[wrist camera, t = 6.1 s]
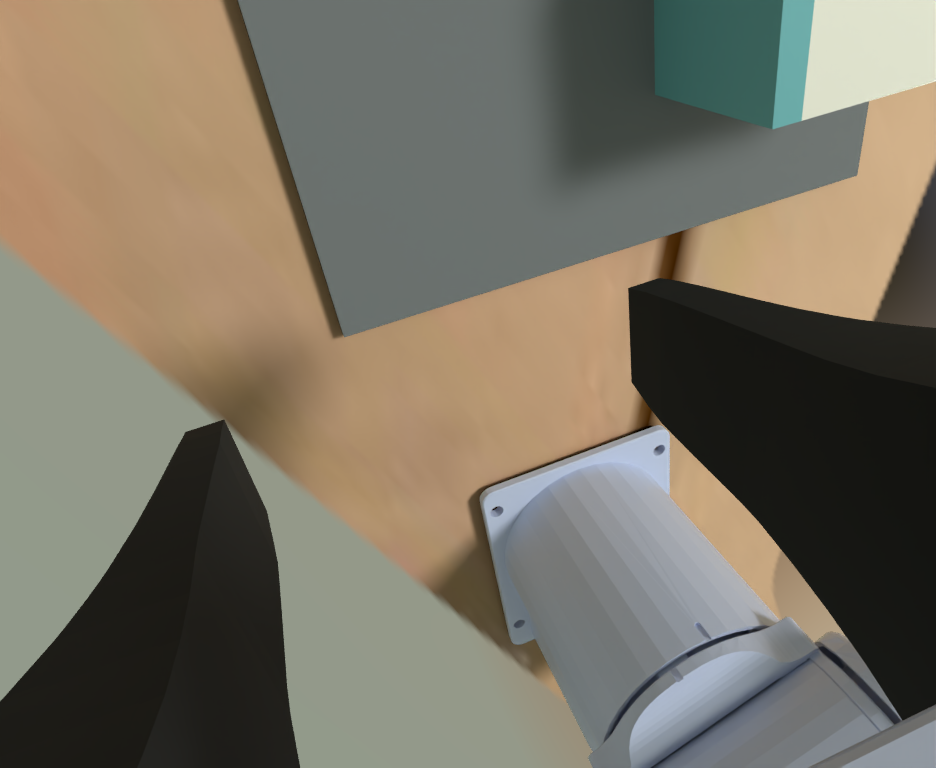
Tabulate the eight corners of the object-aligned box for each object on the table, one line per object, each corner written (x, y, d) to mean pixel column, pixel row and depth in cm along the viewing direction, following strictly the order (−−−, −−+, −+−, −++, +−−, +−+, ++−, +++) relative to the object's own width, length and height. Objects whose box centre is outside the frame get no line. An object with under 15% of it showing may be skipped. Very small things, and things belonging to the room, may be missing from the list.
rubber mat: (848, 172, 24) (857, 175, 24) (341, 331, 21) (344, 337, 21) (926, -348, 17) (941, -355, 17) (164, -231, 14) (163, -236, 13)
